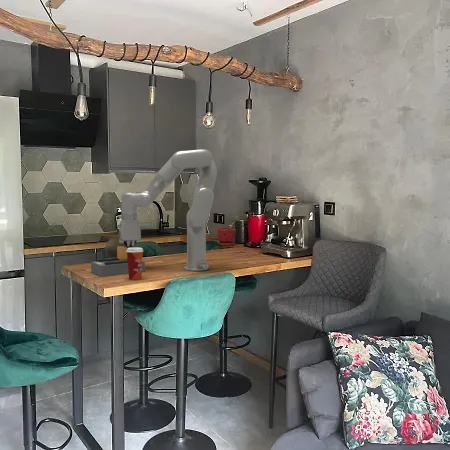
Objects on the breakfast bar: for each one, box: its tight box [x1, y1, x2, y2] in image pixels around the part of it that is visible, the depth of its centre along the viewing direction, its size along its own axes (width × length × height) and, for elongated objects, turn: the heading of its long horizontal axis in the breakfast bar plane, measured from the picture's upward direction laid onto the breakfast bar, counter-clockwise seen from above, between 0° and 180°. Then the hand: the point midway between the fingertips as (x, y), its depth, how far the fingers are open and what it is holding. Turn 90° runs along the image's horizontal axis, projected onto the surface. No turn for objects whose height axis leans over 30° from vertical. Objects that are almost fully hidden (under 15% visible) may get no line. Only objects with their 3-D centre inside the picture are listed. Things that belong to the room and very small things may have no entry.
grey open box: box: [90, 257, 146, 278], centre depth 225 cm, size 14×22×6 cm, turn 126°
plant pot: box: [216, 227, 237, 247], centre depth 328 cm, size 13×13×12 cm
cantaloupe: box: [104, 236, 130, 258], centre depth 244 cm, size 14×14×15 cm
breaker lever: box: [117, 246, 127, 260], centre depth 226 cm, size 5×3×8 cm, turn 36°
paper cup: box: [126, 246, 144, 281], centre depth 209 cm, size 8×8×14 cm
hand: (129, 254), depth 229 cm, fingers closed
